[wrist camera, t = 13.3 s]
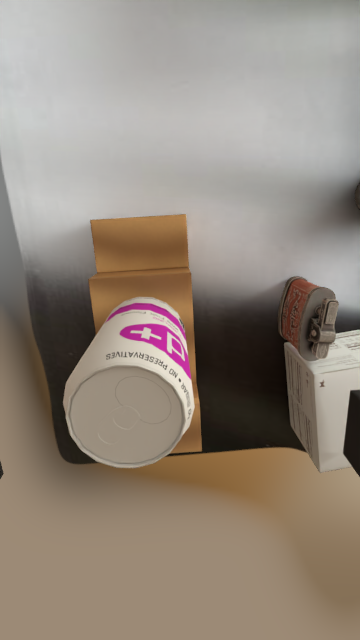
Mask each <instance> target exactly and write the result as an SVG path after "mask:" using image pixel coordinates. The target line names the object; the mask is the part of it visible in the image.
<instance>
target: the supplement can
mask: <svg viewBox="0 0 360 640" xmlns="http://www.w3.org/2000/svg"><path fill="white" fill-rule="evenodd" d="M63 405H64V409H65V413H66V420H67V424H68V428H69V432H70V435H71V437H72V438H73V440H74V441H75V442H76V444H77V445H78V447H79V448H80V449H81V451H83V452H84V453H86V454H87V455H89V456H90V457H91V458H93V459H94V460H96V461H97V462H100V463H103V464H106V465H109V466H112V467H115V468H138V467H142V466H146V465H149V464H152V463H155V462H157V461H158V460H160V459H161V458H163V457H165V456H166V455H168V454H169V453H171V451H172V450H173V449H174V447H175V446H176V445H177V443H178V442H179V441H180V439H181V438H182V436H183V434H184V433H185V432H186V430H187V429H188V428H189V426H190V423H191V419H192V415H193V412H194V408H195V405H194V397H193V389H192V381H191V374H190V366H189V359H188V351H187V344H186V336H185V328H184V324H183V322H182V320H181V318H180V316H179V315H178V313H177V312H176V311H175V310H174V309H173V308H172V307H171V306H169V305H168V304H167V303H165V302H163V301H160V300H158V299H155V298H152V297H136V298H133V299H129V300H126V301H124V302H122V303H121V304H120V305H118V306H117V307H116V308H114V309H113V310H112V312H111V313H110V315H109V316H108V318H107V319H106V321H105V322H104V324H103V326H102V327H101V329H100V330H99V332H98V333H97V335H96V336H95V338H94V339H93V341H92V342H91V344H90V346H89V347H88V349H87V350H86V352H85V353H84V355H83V356H82V358H81V359H80V361H79V362H78V364H77V366H76V367H75V369H74V371H73V372H72V374H71V375H70V377H69V379H68V380H67V382H66V386H65V393H64V400H63Z"/></svg>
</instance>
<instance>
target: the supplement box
mask: <svg viewBox="0 0 360 640" xmlns="http://www.w3.org/2000/svg"><path fill="white" fill-rule="evenodd" d="M284 350H285V362H286V375H287V388H288V400H289V413H290V424H291V427H292V428H293V430H294V432H295V433H296V435H297V436H298V438H299V440H300V441H301V443H302V445H303V446H304V448H305V449H306V451H307V453H308V454H309V456H310V458H311V459H312V461H313V463H314V464H315V466H316V467H317V469H318V471H319V472H320V473H322V472H327V471H333V470H338V469H344V468H350V467H352V466H351V464H350V463H349V461H348V460H347V459H346V457H345V456H344V454H343V447H344V439H345V430H346V422H347V413H348V405H349V396H350V390H360V330H355V331H349V332H343V333H338V334H336V338H335V341H334V342H333V343H332V344H330V347H329V352H328V356H327V357H326V358H325V359H319V360H316V361H307V360H305V359H303V358H302V357H301V356H300V354H299V353H298V350H297V349H296V348H295V347H294V346H293V345H292V344H291V343H290V342H286V343H284Z"/></svg>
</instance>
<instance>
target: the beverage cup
mask: <svg viewBox="0 0 360 640" xmlns="http://www.w3.org/2000/svg"><path fill="white" fill-rule="evenodd" d="M355 202H356V205H357V207H358V209H359V210H360V183H359V185H358V187H357V189H356V192H355Z"/></svg>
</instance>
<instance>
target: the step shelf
mask: <svg viewBox="0 0 360 640" xmlns="http://www.w3.org/2000/svg"><path fill="white" fill-rule="evenodd" d="M90 222H91V230H92V238H93V245H94V253H95V260H96V268H97V274H95V275H94V276H92V277H91V278H89V279H88V281H89V288H90V295H91V302H92V309H93V316H94V324H95V331H96V335H97V333H98V332H99V330H100V329H101V327H102V326H103V324H104V322H105V321H106V319H107V318H108V316H109V315H110V313H111V312H112V310H113V309H114V308H116V307H117V306H118V305H120V304H121V303H122V302H124V301H126V300H129V299H133V298H136V297H152V298H155V299H158V300H160V301H163V302H165V303H167V304H168V305H169V306H171V307H172V308H173V309H174V310H175V311H176V312H177V313H178V315H179V316H180V318H181V320H182V322H183V324H184V328H185V336H186V344H187V351H188V359H189V366H190V374H191V381H192V389H193V397H194V405H195V408H194V412H193V415H192V419H191V423H190V426H189V428H188V429H187V430H186V432H185V433H184V434H183V436H182V438H181V439H180V441H179V442H178V443H177V445H176V446H175V447H174V449H173V450H172V451H171V453H182V452H197V451H202V445H201V423H200V403H199V397H198V390H197V384H196V364H195V344H194V324H193V304H192V283H191V272H190V269H189V261H188V242H187V222H186V214H182V215H165V216H149V217H133V218H117V219H100V220H90Z"/></svg>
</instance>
